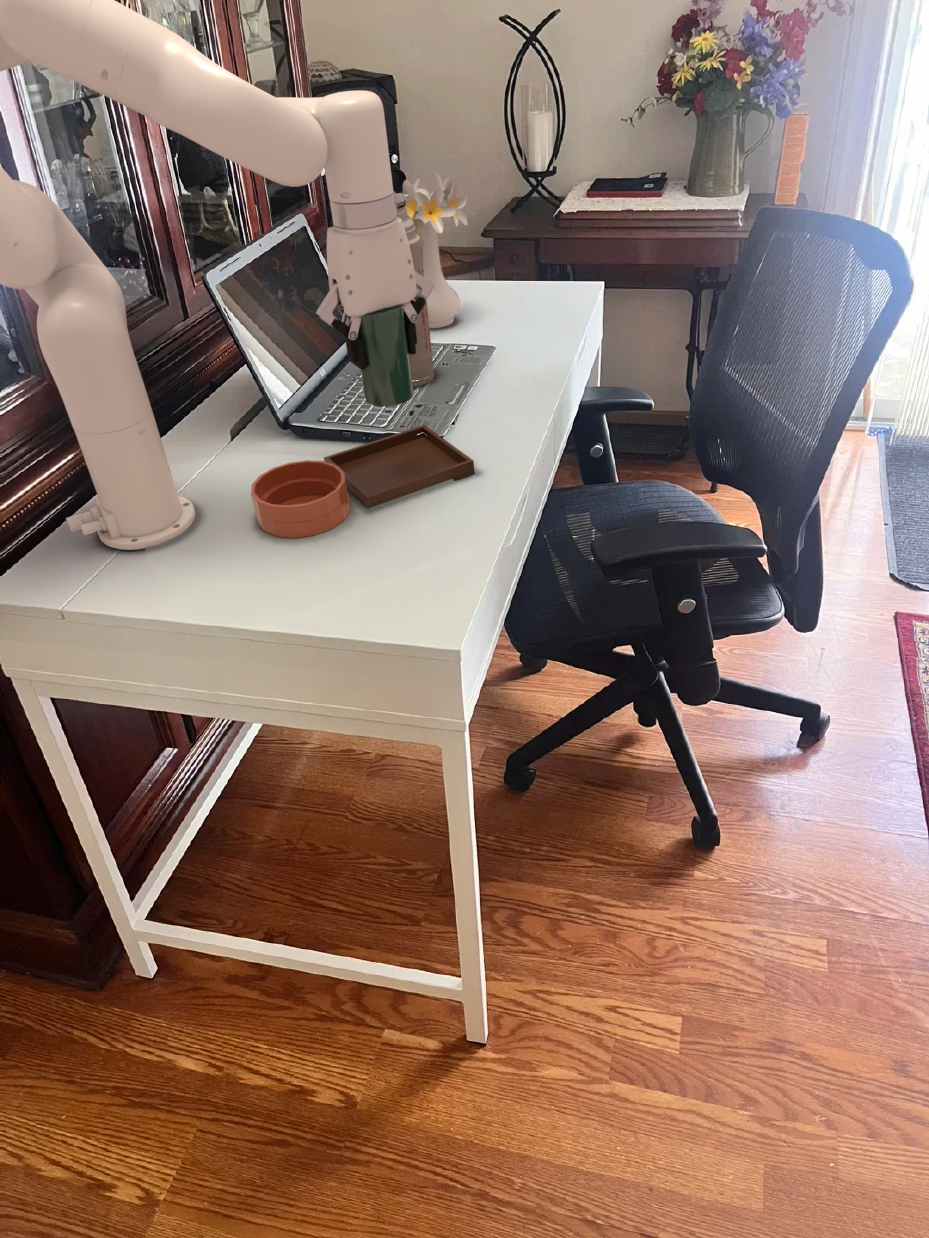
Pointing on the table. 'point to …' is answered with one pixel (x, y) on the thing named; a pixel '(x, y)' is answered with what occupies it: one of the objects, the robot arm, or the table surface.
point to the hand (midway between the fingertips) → (384, 357)
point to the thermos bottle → (423, 357)
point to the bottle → (386, 357)
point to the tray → (400, 465)
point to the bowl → (300, 498)
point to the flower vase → (435, 242)
